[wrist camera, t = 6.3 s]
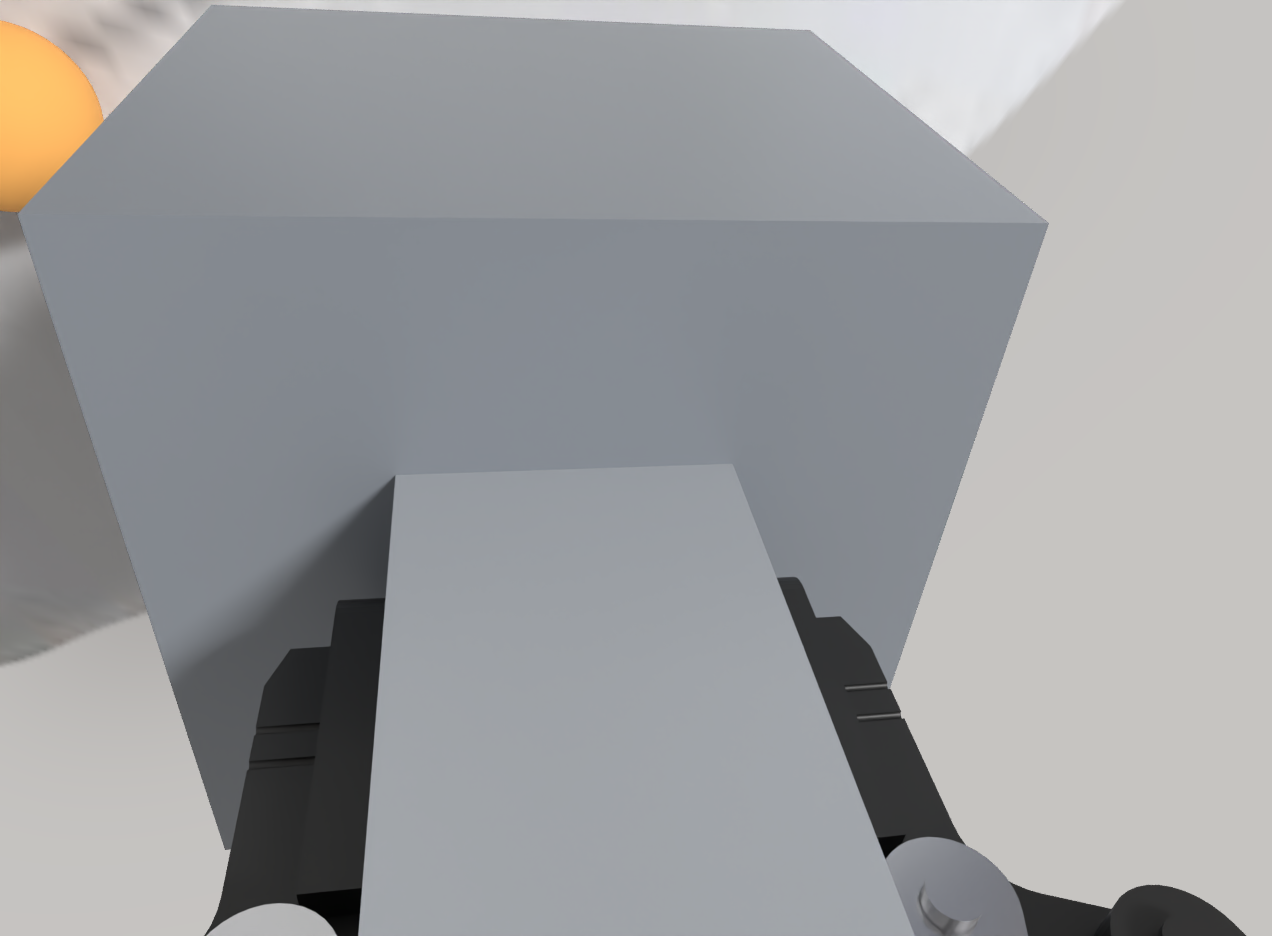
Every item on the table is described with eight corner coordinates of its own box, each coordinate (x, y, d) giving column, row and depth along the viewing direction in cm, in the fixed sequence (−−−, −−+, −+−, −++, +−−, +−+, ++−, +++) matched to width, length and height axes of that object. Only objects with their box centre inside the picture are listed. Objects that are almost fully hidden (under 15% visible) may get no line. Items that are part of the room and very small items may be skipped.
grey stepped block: (810, 30, 17) (1551, 628, 6) (735, 479, 23) (1016, 1217, 12) (211, 5, 16) (-508, 781, 4) (298, 495, 22) (116, 1373, 10)
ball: (99, 1, 27) (38, 46, 23) (143, 174, 30) (96, 240, 26) (-95, -4, 26) (-192, 41, 22) (-30, 174, 29) (-105, 241, 25)
